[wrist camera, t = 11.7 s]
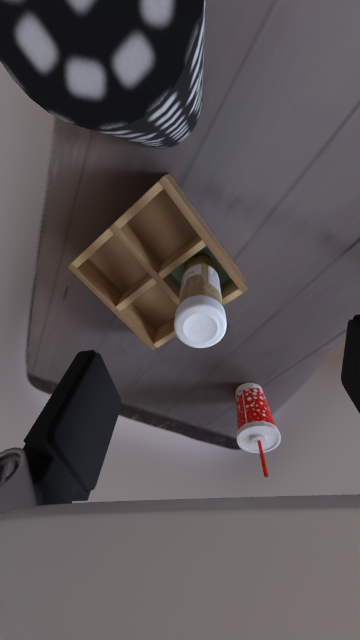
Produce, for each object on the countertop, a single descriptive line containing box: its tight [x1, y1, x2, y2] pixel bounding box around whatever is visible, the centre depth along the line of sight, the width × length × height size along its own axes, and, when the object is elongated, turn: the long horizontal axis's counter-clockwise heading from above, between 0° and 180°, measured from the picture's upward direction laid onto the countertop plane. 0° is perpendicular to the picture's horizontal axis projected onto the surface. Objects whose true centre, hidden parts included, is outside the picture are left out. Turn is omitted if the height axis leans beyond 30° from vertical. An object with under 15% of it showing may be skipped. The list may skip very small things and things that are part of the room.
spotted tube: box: [0, 0, 205, 148], centre depth 18 cm, size 8×8×20 cm
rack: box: [67, 174, 248, 350], centre depth 33 cm, size 15×15×5 cm
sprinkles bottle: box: [174, 255, 227, 348], centre depth 29 cm, size 5×5×13 cm
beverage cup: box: [235, 383, 281, 477], centre depth 40 cm, size 6×6×14 cm
